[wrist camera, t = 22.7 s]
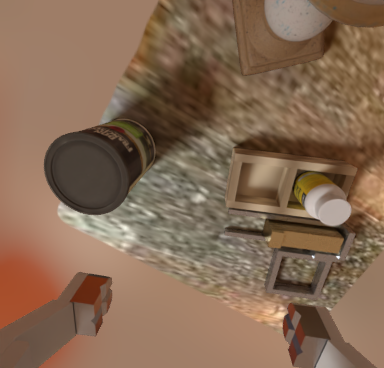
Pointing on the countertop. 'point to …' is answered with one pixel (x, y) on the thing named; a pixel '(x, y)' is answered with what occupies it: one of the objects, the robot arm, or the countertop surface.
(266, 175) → the box
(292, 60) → the candle holder
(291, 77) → the countertop surface
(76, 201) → the coffee can
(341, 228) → the socket block
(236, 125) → the countertop surface
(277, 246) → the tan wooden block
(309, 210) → the supplement bottle
